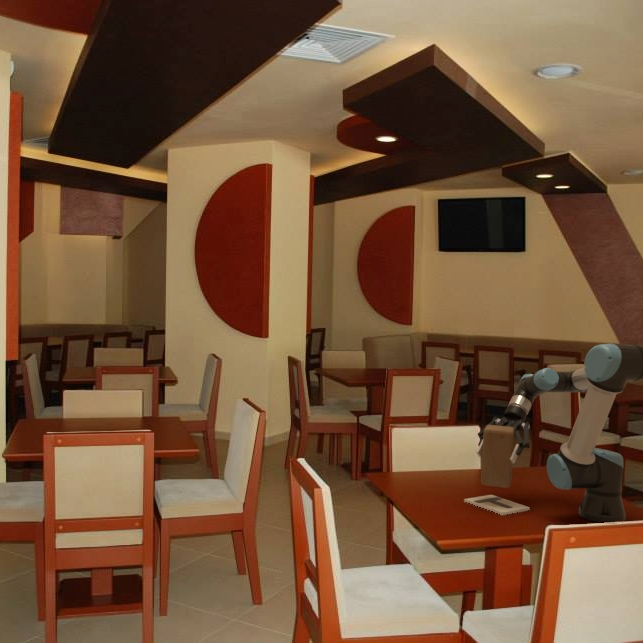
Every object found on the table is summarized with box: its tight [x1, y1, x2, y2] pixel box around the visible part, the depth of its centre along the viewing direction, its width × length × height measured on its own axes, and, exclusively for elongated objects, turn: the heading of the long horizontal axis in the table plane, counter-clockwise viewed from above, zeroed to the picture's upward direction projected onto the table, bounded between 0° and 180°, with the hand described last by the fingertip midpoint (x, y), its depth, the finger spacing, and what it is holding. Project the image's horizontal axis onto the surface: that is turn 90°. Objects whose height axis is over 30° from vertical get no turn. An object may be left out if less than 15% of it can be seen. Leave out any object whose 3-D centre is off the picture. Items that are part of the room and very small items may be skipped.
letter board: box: [463, 494, 531, 516], centre depth 275 cm, size 18×14×1 cm
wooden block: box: [480, 424, 515, 489], centre depth 275 cm, size 10×10×20 cm
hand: (494, 458), depth 273 cm, fingers closed on wooden block, 12 cm apart
